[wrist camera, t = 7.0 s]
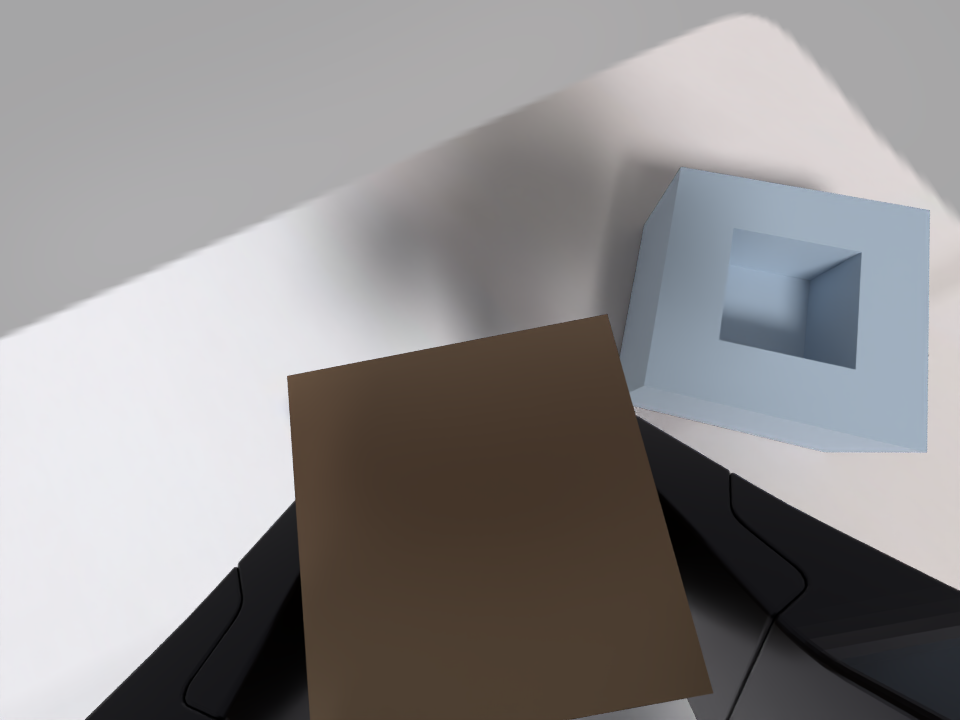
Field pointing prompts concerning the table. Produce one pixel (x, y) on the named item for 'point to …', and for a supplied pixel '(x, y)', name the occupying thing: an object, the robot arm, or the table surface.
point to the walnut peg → (485, 536)
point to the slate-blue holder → (783, 314)
